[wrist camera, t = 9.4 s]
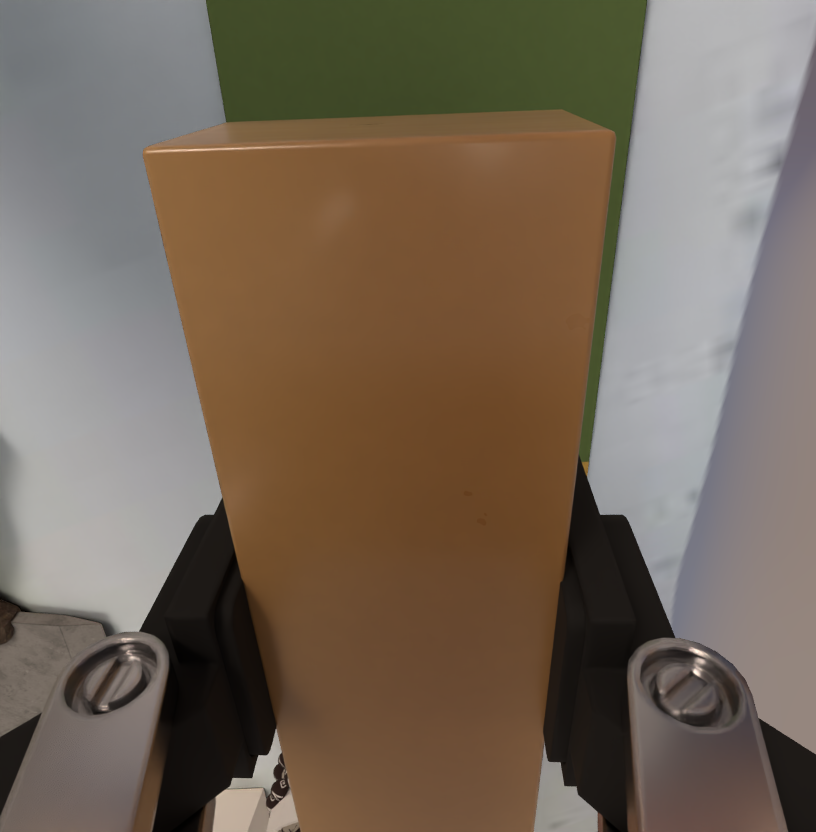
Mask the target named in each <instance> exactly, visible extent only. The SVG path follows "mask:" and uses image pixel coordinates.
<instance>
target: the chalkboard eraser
mask: <svg viewBox="0 0 816 832" xmlns="http://www.w3.org/2000/svg"><path fill="white" fill-rule="evenodd" d="M615 145H616V135H615V132H614V131H612V130H609V129H607V128H605V127H602V126H600V125H598V124H595V123H593V122H590V121H588V120H586V119H583V118H581V117H579V116H576V115H574V114H572V113H569V112H567V111H564V110H562V109H559V110H533V111H507V112H481V113H454V114H428V115H402V116H376V117H350V118H324V119H297V120H271V121H245V122H226V123H223V124H220V125H217V126H213V127H210V128H207V129H203V130H200V131H197V132H193V133H190V134H187V135H183V136H180V137H177V138H173V139H170V140H167V141H163V142H160V143H157V144H153V145H150V146H148V147H146V148H144V150H143V158H144V163H145V167H146V171H147V176H148V180H149V184H150V188H151V193H152V197H153V201H154V206H155V210H156V214H157V218H158V223H159V227H160V231H161V236H162V240H163V244H164V248H165V253H166V257H167V261H168V266H169V270H170V274H171V278H172V283H173V287H174V291H175V296H176V300H177V304H178V308H179V313H180V317H181V321H182V326H183V330H184V334H185V338H186V343H187V347H188V351H189V356H190V360H191V364H192V368H193V373H194V377H195V381H196V386H197V390H198V394H199V398H200V403H201V407H202V411H203V416H204V420H205V424H206V428H207V433H208V437H209V441H210V446H211V450H212V454H213V458H214V463H215V467H216V471H217V476H218V480H219V484H220V488H221V493H222V497H223V501H224V506H225V510H226V514H227V518H228V523H229V527H230V531H231V536H232V540H233V544H234V548H235V553H236V557H237V561H238V566H239V570H240V574H241V578H242V580H243V583H244V588H245V592H246V596H247V601H248V605H249V609H250V614H251V618H252V622H253V626H254V631H255V635H256V639H257V644H258V648H259V652H260V657H261V661H262V665H263V669H264V674H265V678H266V682H267V687H268V691H269V695H270V700H271V704H272V708H273V713H274V717H275V721H276V725H277V726H276V728H277V733H278V737H279V741H280V746H281V750H282V754H283V758H284V763H285V767H286V771H287V776H288V780H289V784H290V788H291V793H292V797H293V801H294V806H295V810H296V814H297V818H298V823H299V827H300V831H301V832H534V824H535V816H536V808H537V799H538V791H539V782H540V774H541V766H542V757H543V749H544V735H543V727H544V718H545V710H546V701H547V693H548V684H549V675H550V667H551V658H552V649H553V641H554V632H555V623H556V615H557V606H558V598H559V589H560V582H562V581H563V579H564V573H565V564H566V556H567V548H568V539H569V531H570V523H571V514H572V506H573V497H574V489H575V481H576V472H577V464H578V455H579V447H580V439H581V430H582V422H583V414H584V405H585V397H586V388H587V380H588V372H589V363H590V355H591V347H592V338H593V330H594V321H595V313H596V305H597V296H598V288H599V279H600V271H601V263H602V254H603V246H604V238H605V229H606V221H607V212H608V204H609V196H610V187H611V179H612V170H613V162H614V154H615Z"/></svg>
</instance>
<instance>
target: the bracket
mask: <svg viewBox="0 0 816 832" xmlns="http://www.w3.org/2000/svg"><path fill="white" fill-rule="evenodd" d="M269 813H270V812H269V811H268V809H267V807H266V796H265V792H264V788H251V789H229V790H224V791H222V792H221V793H220V794H219V795H217V796H216V808H215V816H214V825H213V832H266V831H267V826H268V822H269Z"/></svg>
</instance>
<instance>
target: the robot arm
mask: <svg viewBox="0 0 816 832" xmlns="http://www.w3.org/2000/svg"><path fill="white" fill-rule="evenodd" d="M276 726H277V725H276V721H275V717H274V713H273V708H272V704H271V700H270V695H269V691H268V687H267V682H266V678H265V674H264V669H263V665H262V661H261V657H260V652H259V648H258V644H257V639H256V635H255V631H254V626H253V622H252V618H251V614H250V609H249V605H248V601H247V596H246V592H245V588H244V583H243V580H242V578H241V574H240V570H239V566H238V561H237V557H236V553H235V548H234V544H233V540H232V536H231V531H230V527H229V523H228V518H227V514H226V510H225V506H224V501H223V498H222V500H221V502H220V504H219V506H218V508H217V510H216V512H215V514H214V515H204V516H202V517H200V518H199V520H198V521H197V523H196V524H195V526H194V528H193V530H192V532H191V534H190V536H189V538H188V539H187V541H186V543H185V545H184V547H183V549H182V551H181V553H180V555H179V557H178V558H177V560H176V562H175V564H174V566H173V568H172V570H171V572H170V574H169V576H168V577H167V579H166V581H165V583H164V585H163V587H162V589H161V591H160V593H159V595H158V596H157V598H156V600H155V602H154V604H153V606H152V608H151V610H150V612H149V614H148V615H147V617H146V619H145V621H144V623H143V625H142V627H141V629H140V631H139V632H123V633H119V634H115V635H111V636H108V637H105V638H103V639H101V640H99V641H97V642H95V643H92V644H91V645H89V646H88V647H86V648H85V649H83V650H82V651H81V652H79V653H78V654H76V655H75V656H74V657H73V658H72V659H71V660H70V661H69V662H68V663H67V665H66V666H65V667H64V668H63V669H62V670H61V672H60V674H59V675H58V677H57V679H56V681H55V682H54V684H53V687H52V689H51V691H50V694H49V696H48V699H47V701H46V704H45V706H44V709H43V711H42V713H40V714H38V715H37V716H35V717H33V718H32V719H30V720H28V721H27V722H25V723H23V724H21V725H20V726H18V727H16V728H15V729H13V730H11V731H10V732H8V733H6V734H5V735H3V736H1V737H0V832H213V825H214V816H215V808H216V796H217V795H219V794H220V793H221V792H222V791H224V790H225V789H226V788H228V787H229V786H230V784H231V781H232V778H252V777H253V773H254V769H255V765H256V761H257V757H258V755H267V754H268V753H269V751H270V749H271V746H272V742H273V738H274V734H275V730H276ZM543 735H544V741H545V748H546V754H547V758H548V761H549V762H561V768H562V774H563V780H564V785H565V786H577V791H578V795H579V796H580V797H582V798H583V799H584V800H585V801H586V802H587V803H588V804H590V805H591V806H592V807H593V808H594V809H595V810H596V811H597V812H598V832H816V754H814V753H812V752H811V751H809V750H808V749H806V748H804V747H803V746H801V745H800V744H798V743H797V742H795V741H794V740H792V739H790V738H789V737H787V736H786V735H784V734H782V733H781V732H780V731H778V730H776V729H775V728H773V727H772V726H770V725H769V724H767V723H766V722H764V721H762V720H761V719H759V718H758V715H757V711H756V707H755V704H754V700H753V696H752V694H751V691H750V689H749V687H748V685H747V682H746V680H745V679H744V677H743V676H742V675H741V674H740V673H739V672H738V670H737V669H736V668H735V666H734V665H733V664H732V663H730V662H729V661H728V660H726V659H725V658H724V657H723V656H721V655H720V654H719V653H717V652H716V651H713V650H712V649H710V648H708V647H706V646H703V645H702V644H700V643H696V642H693V641H689V640H685V639H681V638H675V636H674V633H673V631H672V628H671V626H670V623H669V621H668V618H667V616H666V613H665V611H664V608H663V606H662V603H661V601H660V598H659V596H658V593H657V591H656V588H655V586H654V584H653V581H652V579H651V576H650V574H649V571H648V569H647V566H646V564H645V561H644V559H643V556H642V554H641V551H640V549H639V546H638V544H637V541H636V539H635V536H634V534H633V531H632V529H631V526H630V524H629V522H628V520H627V518H626V517H625V516H623V515H600V514H599V511H598V508H597V505H596V502H595V499H594V496H593V493H592V491H591V488H590V485H589V482H588V479H587V476H586V473H585V470H584V467H583V465H582V462H581V459H580V456H579V455H578V464H577V472H576V481H575V489H574V497H573V506H572V514H571V523H570V531H569V539H568V548H567V556H566V564H565V573H564V579H563V581H562V582H560V589H559V598H558V606H557V615H556V623H555V632H554V641H553V649H552V658H551V667H550V675H549V684H548V693H547V701H546V710H545V718H544V727H543Z"/></svg>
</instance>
